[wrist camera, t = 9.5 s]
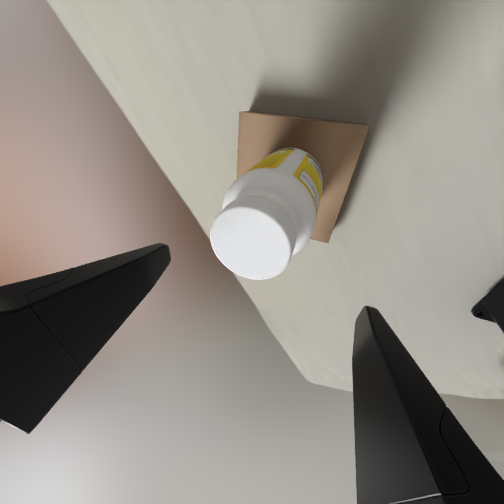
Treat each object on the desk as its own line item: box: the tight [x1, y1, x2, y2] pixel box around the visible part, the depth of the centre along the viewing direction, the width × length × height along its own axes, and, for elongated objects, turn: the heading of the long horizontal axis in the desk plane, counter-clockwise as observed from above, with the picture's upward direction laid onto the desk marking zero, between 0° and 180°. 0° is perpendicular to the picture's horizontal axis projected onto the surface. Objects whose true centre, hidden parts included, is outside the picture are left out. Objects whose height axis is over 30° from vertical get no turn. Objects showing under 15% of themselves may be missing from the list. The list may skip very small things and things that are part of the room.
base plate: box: [237, 111, 369, 243], centre depth 18 cm, size 9×9×2 cm
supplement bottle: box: [210, 148, 323, 280], centre depth 13 cm, size 5×5×10 cm
